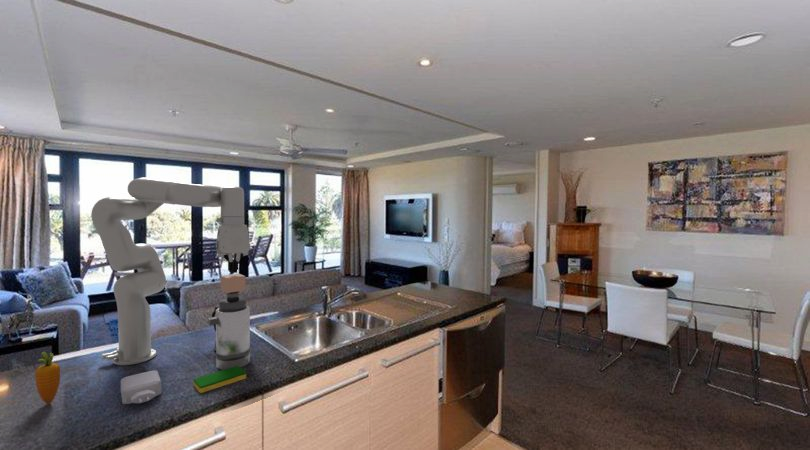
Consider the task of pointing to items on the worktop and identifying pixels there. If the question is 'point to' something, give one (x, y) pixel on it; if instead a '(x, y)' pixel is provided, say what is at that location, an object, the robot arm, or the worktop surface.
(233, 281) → the airpot button
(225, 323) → the airpot
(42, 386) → the carrot
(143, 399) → the charger
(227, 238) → the robot arm
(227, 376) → the dish sponge
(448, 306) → the worktop surface
